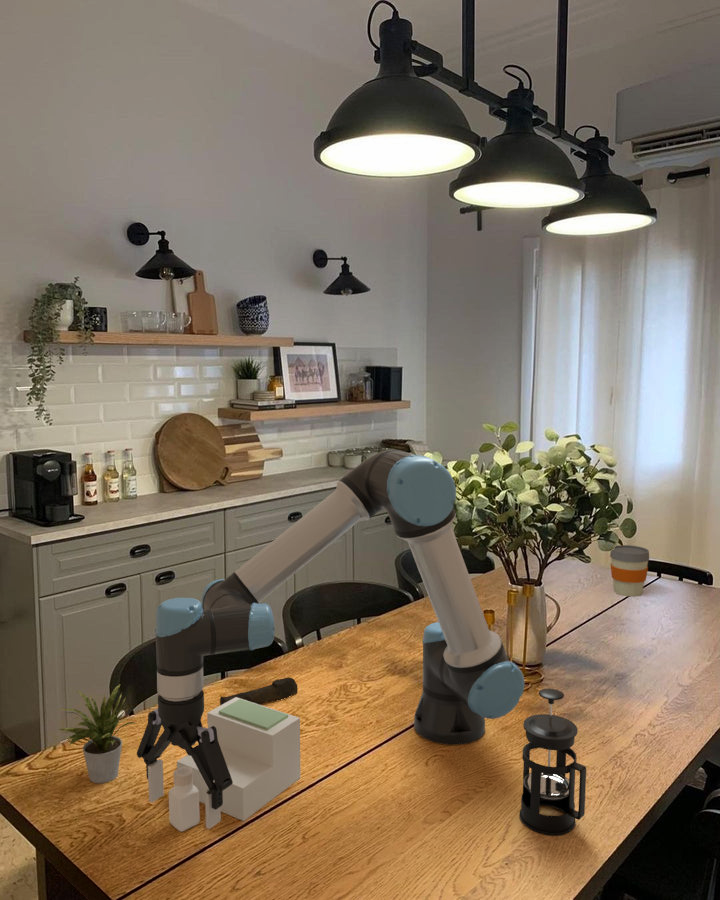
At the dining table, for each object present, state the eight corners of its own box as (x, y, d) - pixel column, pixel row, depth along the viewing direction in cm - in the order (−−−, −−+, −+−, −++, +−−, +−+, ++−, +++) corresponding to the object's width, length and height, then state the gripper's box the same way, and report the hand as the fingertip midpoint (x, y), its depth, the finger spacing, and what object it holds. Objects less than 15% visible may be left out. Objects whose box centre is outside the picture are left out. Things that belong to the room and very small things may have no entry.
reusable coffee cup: (611, 597, 251) (613, 553, 249) (605, 586, 263) (607, 544, 261) (651, 599, 249) (653, 555, 247) (643, 587, 261) (645, 545, 259)
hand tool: (225, 718, 166) (224, 698, 166) (219, 711, 170) (218, 691, 169) (302, 699, 176) (302, 680, 175) (294, 692, 179) (294, 674, 179)
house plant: (82, 752, 151) (79, 674, 149) (150, 753, 151) (147, 675, 149) (51, 792, 137) (47, 707, 135) (126, 794, 137) (123, 709, 135)
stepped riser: (300, 777, 142) (299, 715, 140) (243, 821, 129) (242, 752, 127) (237, 753, 151) (235, 694, 149) (177, 792, 137) (175, 727, 136)
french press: (505, 818, 130) (509, 691, 127) (533, 795, 136) (537, 674, 134) (568, 848, 122) (573, 713, 119) (594, 822, 128) (599, 694, 126)
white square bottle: (188, 813, 131) (187, 762, 130) (201, 823, 128) (199, 771, 127) (168, 823, 128) (166, 771, 127) (180, 834, 125) (179, 780, 124)
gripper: (252, 701, 122) (254, 824, 124) (147, 667, 135) (150, 778, 138) (220, 720, 115) (223, 848, 118) (113, 682, 129) (117, 798, 131)
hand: (184, 811), depth 128 cm, fingers open, 13 cm apart
